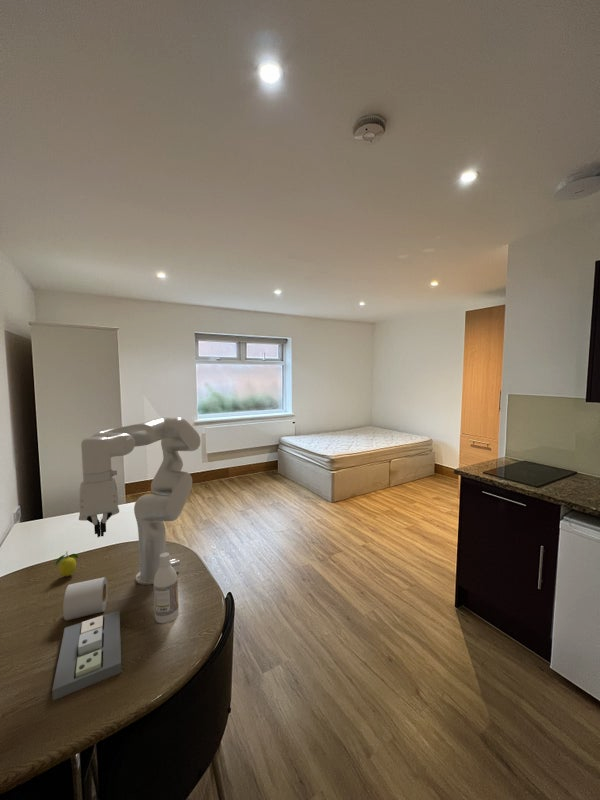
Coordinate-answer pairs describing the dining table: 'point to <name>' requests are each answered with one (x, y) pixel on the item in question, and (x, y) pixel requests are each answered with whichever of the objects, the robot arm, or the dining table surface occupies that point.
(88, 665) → the tile three
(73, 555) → the lemon
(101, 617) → the tile one
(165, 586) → the bath foam
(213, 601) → the dining table surface
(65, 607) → the toilet paper
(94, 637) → the tile two
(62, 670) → the board
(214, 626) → the dining table surface
